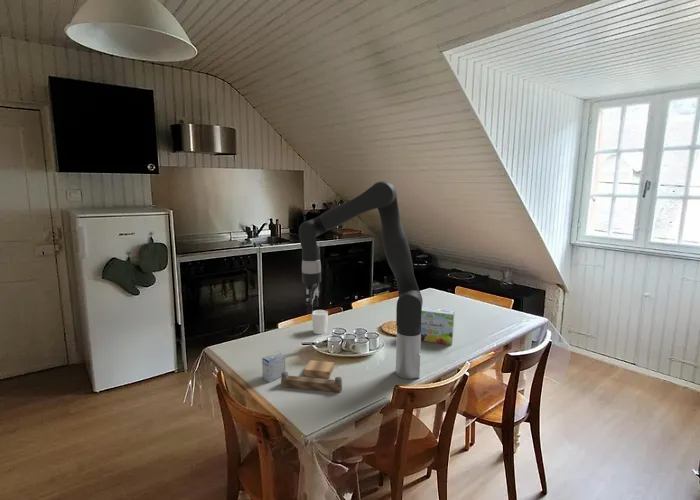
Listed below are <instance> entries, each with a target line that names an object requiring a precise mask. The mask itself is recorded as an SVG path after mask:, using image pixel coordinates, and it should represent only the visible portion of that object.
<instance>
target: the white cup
mask: <svg viewBox="0 0 700 500" xmlns="http://www.w3.org/2000/svg"><path fill="white" fill-rule="evenodd" d="M328 319H329V311H327V310H324V309H316V310H313V313H312V314H311V322H312V323H311V324H312V332H313V334H315V335H324V334H326V333H327V331H328Z"/></svg>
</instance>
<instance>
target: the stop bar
mask: <svg viewBox="0 0 700 500" xmlns="http://www.w3.org/2000/svg"><path fill="white" fill-rule="evenodd" d="M280 386H281V387H282V388H290V389H301V390H310V391H311V390H312V391H319V392H320V391H321V392H330V393H341V392H342V390H343V378H342V377H341V376H336V377H335V378H334V379H330V378H320V377H310V376H297V375H289V372H287V371H286V372H283V373H282V376H281V377H280Z"/></svg>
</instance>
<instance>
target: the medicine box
mask: <svg viewBox="0 0 700 500" xmlns="http://www.w3.org/2000/svg"><path fill="white" fill-rule="evenodd" d="M261 367H262V379H263V380H265V381H267V382H269V383H272V382H273V381H276V380H277V379H279V378H280V379H281V378H282V373H283V372H287V371H286V368H287V367H286V354H285V353H283V352H282V351H281V352H280V351H276V352H273V353H271V354H268V355H266V356H264V357H261Z"/></svg>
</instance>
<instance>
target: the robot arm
mask: <svg viewBox="0 0 700 500" xmlns="http://www.w3.org/2000/svg"><path fill="white" fill-rule="evenodd" d="M376 209H377V211H378V214H379V217H380V221H381V237H382V246H383V249H384V254H385V257H386V261H387V264H388V266H389V268H390V270H391V272H392V275H393V276H394V278H395V281H396V286H397V292H398V297H397V298H398V299H397V301H396V312H395V314H396V315H395V316H396V321H395V322H396V323H395V324H396V325H395V326H396V344H395V345H396V348H395V350H396V351H395V374H396V376H397V377H399V378H401V379H406V380H413V379H419V378H420V372H421V371H420V370H421V346H422V345H421V344H422V343H421V342H422V340H421V314H422V307H423V300H424V299H423V296H422V293H421V291H420V288H419V286H418V282H417V280H416V277H415V273H414V272H415V271H414V265H413V259H412V254H411V253H412V252H411V249H410V245H409V241H408V237H407V233H406V231H405V228H404V225H403V222H402V219H401V216H400V212H399V211H400V210H399V204H398V196H397V189H396V187H395V185H393V184H392V183H391V182H389V181H386V180H384V181H383V180H382V181H378V182H375V183H374V184H373V185H371V186H370V187H369V188H368V189H366V190H365V191H364V192H362V193H361V194H359V195H358V196H356V197H354V198H352V199H350V200H348V201H346V202H343V203H341V204H338V205H336V206H334V207H332V208H330V209H328V210H326V211H324V212H323V213H322V214H320V215H319V216H316V217H314V218H311V219H309V220H306V221H303V222H302V223H301V224H300V225H299V228H298V238H299V243H300V246H301V260H302V261H301V279H302V280H301V281H302V283H303V284H305V285H306V288H304V290H303V291H304V295H303V296H304V305H306V314H308V315H310V314H311V315H312V313H313V311H314V309H313V308H318V307H319V296H320V283H321V282H322V263H321V249H320V246H319V245H318V243H317V237H318V236H320V235H323V234H324V233H326V232H328V231H329V230H333V229H335V228H337V227H340V226H342V225H343V224H346V223H347V222H349V221H351V220H353V219H354V218H356V217H357V216H359V215H362V214H363V213H366V212H368V211H372V210H376Z"/></svg>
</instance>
